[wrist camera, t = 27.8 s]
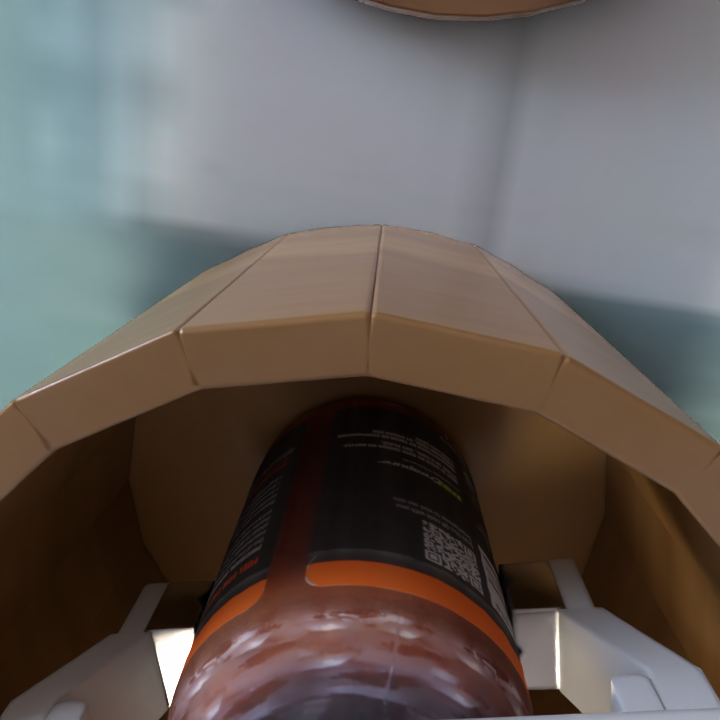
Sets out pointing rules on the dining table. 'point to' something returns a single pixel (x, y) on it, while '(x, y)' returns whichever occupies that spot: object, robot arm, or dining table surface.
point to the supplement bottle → (356, 584)
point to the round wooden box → (339, 383)
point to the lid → (471, 8)
